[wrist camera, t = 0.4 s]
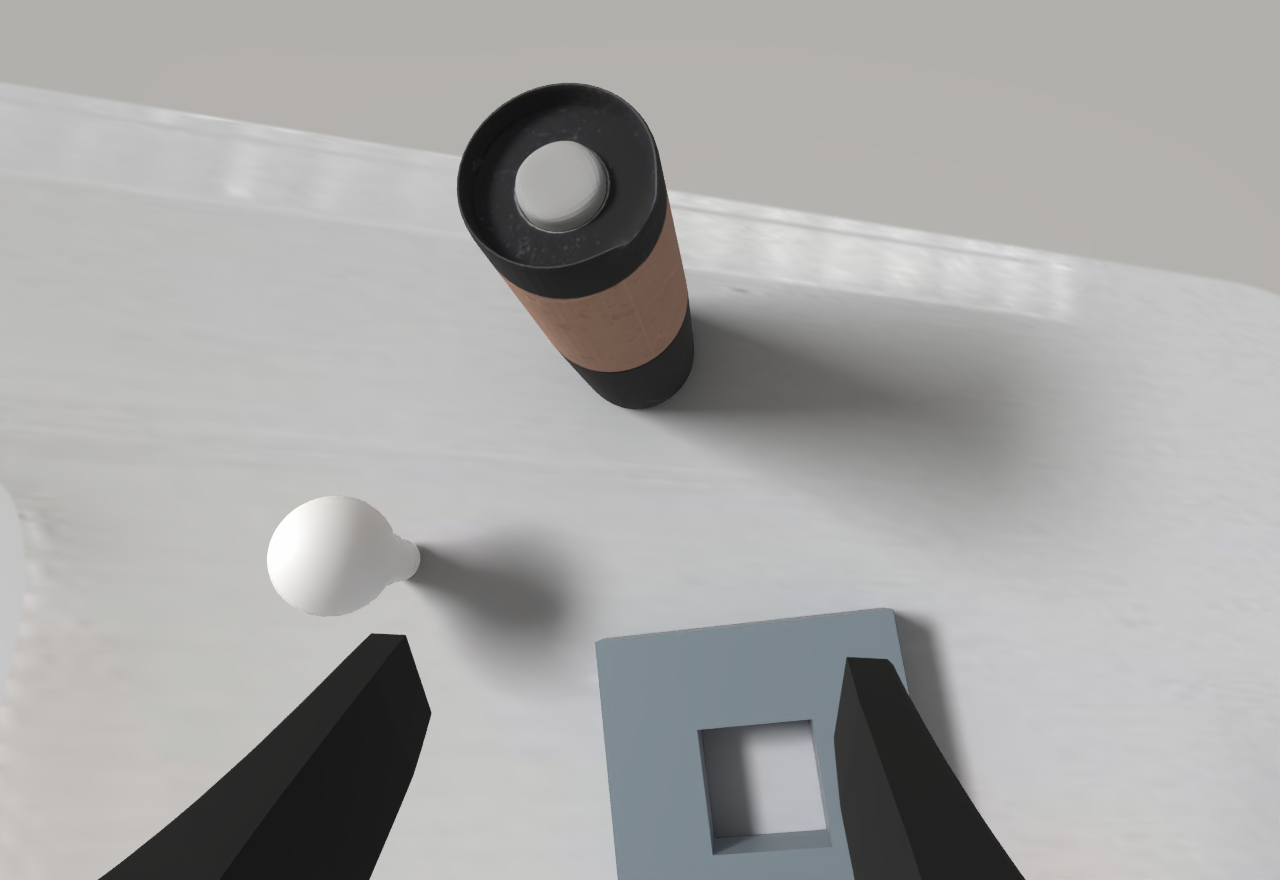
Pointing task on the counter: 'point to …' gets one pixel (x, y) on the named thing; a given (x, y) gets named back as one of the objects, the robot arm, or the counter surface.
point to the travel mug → (584, 235)
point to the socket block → (716, 698)
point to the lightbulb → (337, 556)
